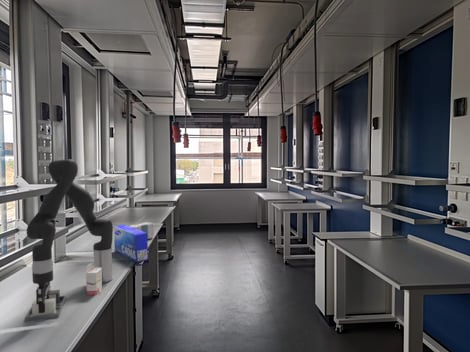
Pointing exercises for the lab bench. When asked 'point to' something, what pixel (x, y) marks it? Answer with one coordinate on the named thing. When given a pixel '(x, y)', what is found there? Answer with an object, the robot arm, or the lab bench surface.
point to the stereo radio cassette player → (145, 228)
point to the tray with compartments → (46, 316)
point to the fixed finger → (54, 295)
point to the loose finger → (49, 307)
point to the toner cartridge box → (131, 243)
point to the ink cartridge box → (93, 280)
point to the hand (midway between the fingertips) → (44, 308)
